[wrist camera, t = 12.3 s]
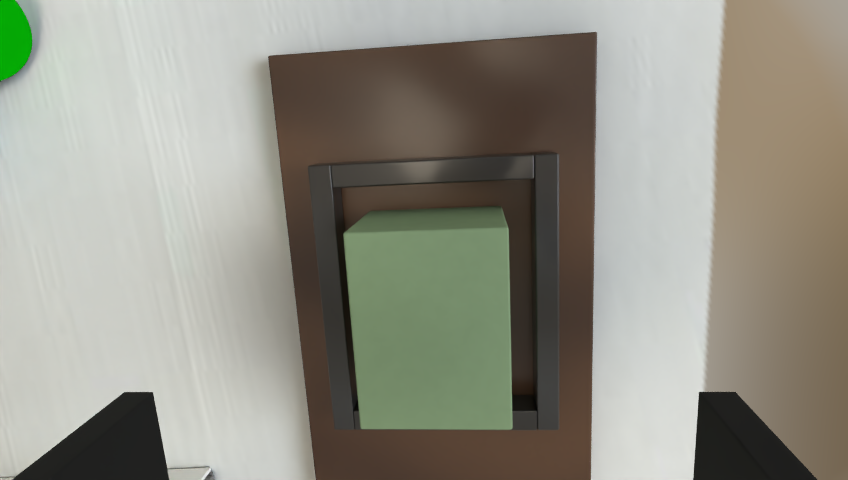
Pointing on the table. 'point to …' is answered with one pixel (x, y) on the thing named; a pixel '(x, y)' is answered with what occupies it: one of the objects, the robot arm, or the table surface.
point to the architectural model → (181, 474)
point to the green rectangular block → (431, 318)
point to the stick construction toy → (13, 38)
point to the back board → (448, 188)
